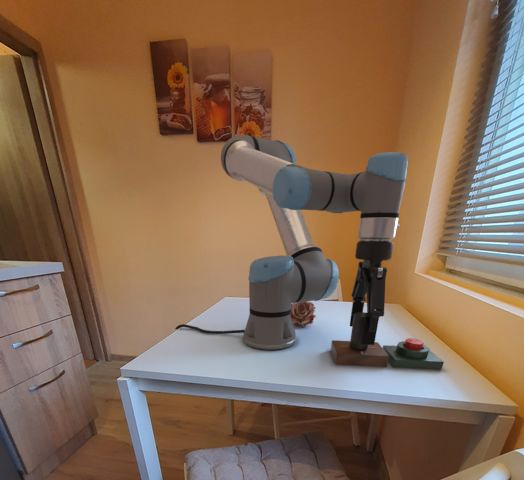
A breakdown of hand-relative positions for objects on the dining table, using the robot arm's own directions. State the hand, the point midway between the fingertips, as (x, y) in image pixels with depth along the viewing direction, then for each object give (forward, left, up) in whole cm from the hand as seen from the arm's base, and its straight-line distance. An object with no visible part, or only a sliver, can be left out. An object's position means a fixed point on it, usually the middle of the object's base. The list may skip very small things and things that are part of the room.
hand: (360, 334), depth 68 cm
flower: (-13, +26, -7) cm, 30 cm away
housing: (+13, 0, -7) cm, 15 cm away
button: (+13, 0, -3) cm, 13 cm away
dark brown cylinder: (0, 0, -4) cm, 4 cm away
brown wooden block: (0, 0, -7) cm, 7 cm away
